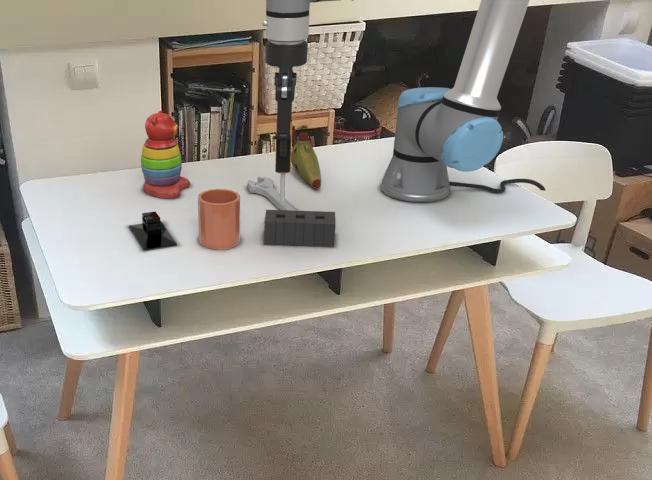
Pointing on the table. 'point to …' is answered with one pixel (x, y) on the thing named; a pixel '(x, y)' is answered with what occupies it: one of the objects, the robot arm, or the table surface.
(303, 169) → the olive green tapered piece
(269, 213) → the holder
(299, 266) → the table surface
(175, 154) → the stacking bear
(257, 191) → the adjustable wrench
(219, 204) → the pen cup
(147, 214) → the build plate
